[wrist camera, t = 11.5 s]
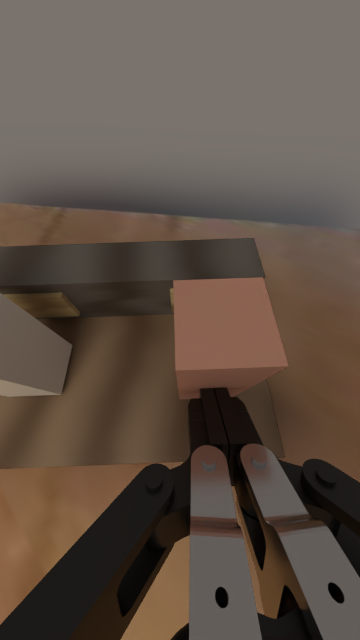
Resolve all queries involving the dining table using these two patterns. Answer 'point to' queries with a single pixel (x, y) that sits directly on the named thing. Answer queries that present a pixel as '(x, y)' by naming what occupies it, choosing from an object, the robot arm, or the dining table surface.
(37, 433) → the switch board
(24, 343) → the cream key
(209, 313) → the brick key
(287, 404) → the dining table surface
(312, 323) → the dining table surface
